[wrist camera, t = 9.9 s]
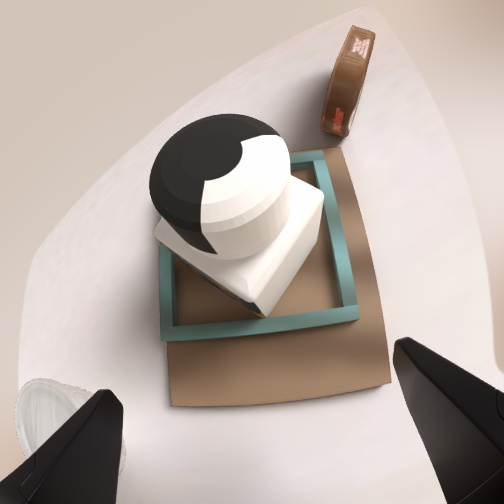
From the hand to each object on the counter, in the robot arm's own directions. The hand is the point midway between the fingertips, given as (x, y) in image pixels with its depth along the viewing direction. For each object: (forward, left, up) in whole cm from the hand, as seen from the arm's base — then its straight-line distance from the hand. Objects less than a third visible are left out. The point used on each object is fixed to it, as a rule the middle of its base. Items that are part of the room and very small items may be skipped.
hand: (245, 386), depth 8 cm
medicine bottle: (+8, +1, -12) cm, 15 cm away
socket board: (+7, 0, -13) cm, 15 cm away
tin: (+24, -11, -14) cm, 30 cm away
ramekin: (-7, +18, -14) cm, 23 cm away
